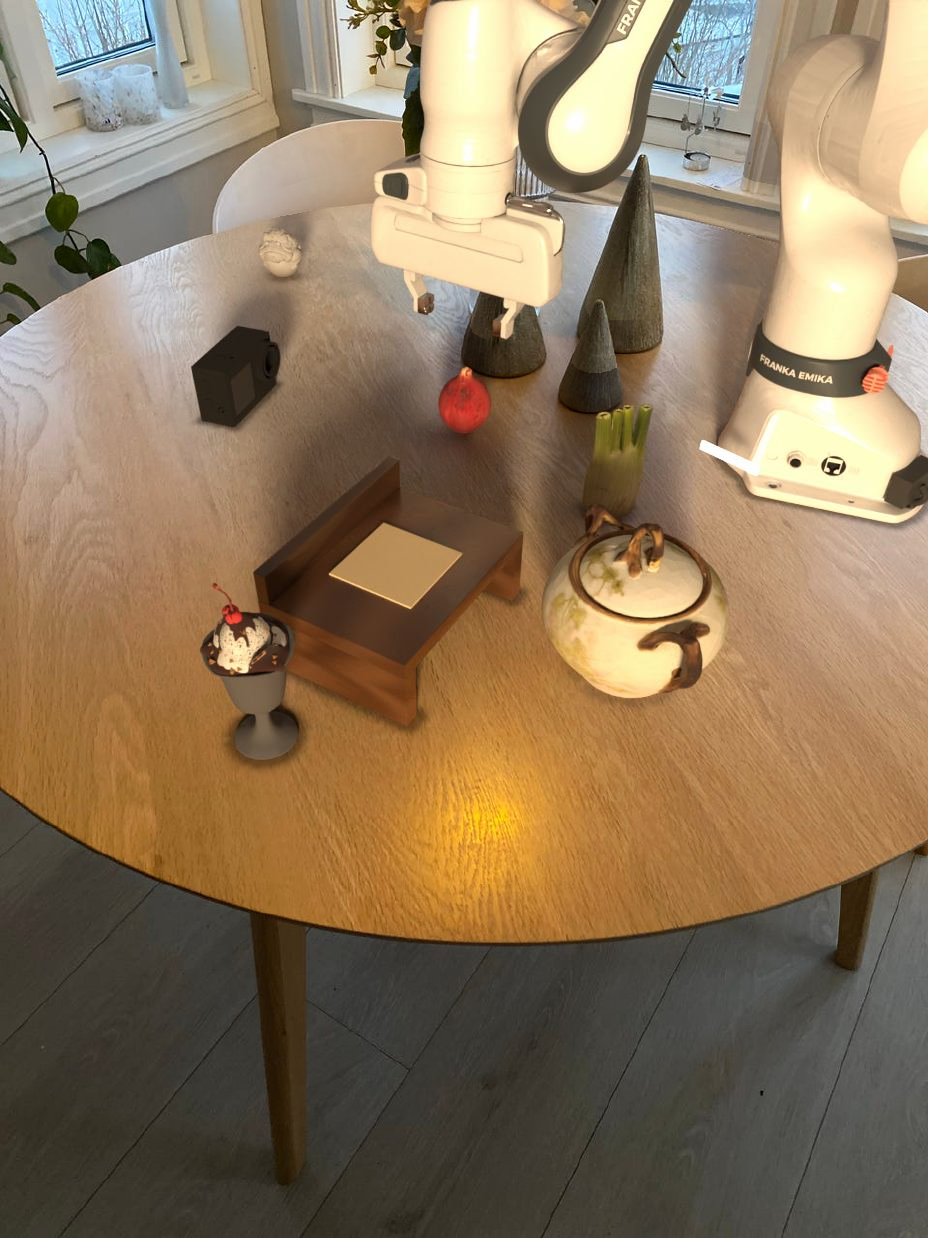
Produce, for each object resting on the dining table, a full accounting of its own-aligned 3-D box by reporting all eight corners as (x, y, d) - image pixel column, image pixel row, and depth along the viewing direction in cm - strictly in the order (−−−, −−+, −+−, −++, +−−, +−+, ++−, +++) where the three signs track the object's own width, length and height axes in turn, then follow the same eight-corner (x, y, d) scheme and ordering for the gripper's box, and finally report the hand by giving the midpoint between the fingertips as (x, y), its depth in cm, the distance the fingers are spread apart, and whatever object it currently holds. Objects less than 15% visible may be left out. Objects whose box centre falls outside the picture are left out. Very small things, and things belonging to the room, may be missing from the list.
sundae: (226, 706, 77) (193, 564, 67) (310, 702, 78) (290, 560, 68) (218, 771, 73) (181, 629, 62) (307, 766, 73) (285, 624, 63)
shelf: (519, 592, 88) (526, 503, 81) (407, 727, 76) (403, 637, 69) (392, 542, 93) (388, 455, 86) (268, 661, 81) (252, 571, 74)
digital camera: (244, 430, 107) (234, 374, 103) (201, 421, 109) (190, 365, 104) (285, 386, 115) (279, 332, 110) (245, 378, 116) (236, 324, 111)
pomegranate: (484, 450, 105) (486, 385, 100) (433, 444, 106) (432, 379, 101) (493, 422, 109) (496, 358, 104) (444, 416, 110) (444, 353, 105)
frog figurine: (255, 285, 135) (248, 235, 130) (270, 264, 140) (264, 216, 135) (296, 288, 134) (291, 239, 130) (310, 268, 139) (306, 219, 135)
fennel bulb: (636, 500, 99) (654, 397, 91) (638, 529, 95) (656, 424, 87) (580, 496, 99) (592, 393, 91) (579, 525, 96) (592, 420, 87)
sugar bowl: (761, 729, 76) (810, 588, 66) (588, 773, 73) (612, 631, 63) (653, 575, 90) (680, 438, 80) (503, 606, 87) (511, 467, 77)
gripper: (582, 197, 88) (566, 338, 97) (395, 153, 95) (397, 288, 104) (551, 218, 84) (538, 363, 93) (359, 171, 91) (364, 309, 100)
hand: (462, 323), depth 99 cm, fingers open, 8 cm apart
